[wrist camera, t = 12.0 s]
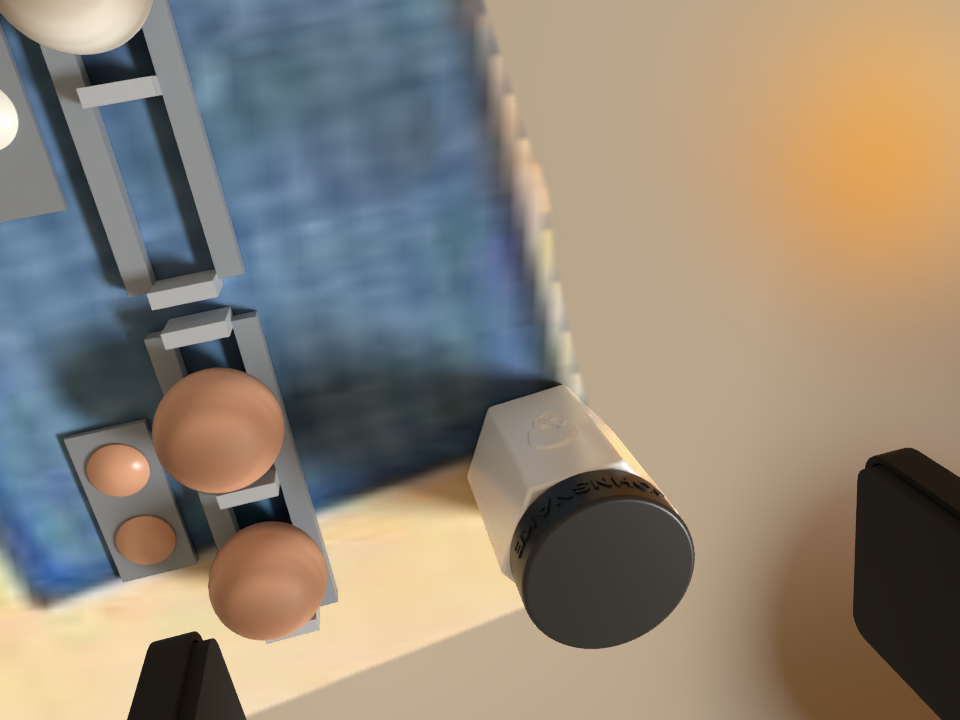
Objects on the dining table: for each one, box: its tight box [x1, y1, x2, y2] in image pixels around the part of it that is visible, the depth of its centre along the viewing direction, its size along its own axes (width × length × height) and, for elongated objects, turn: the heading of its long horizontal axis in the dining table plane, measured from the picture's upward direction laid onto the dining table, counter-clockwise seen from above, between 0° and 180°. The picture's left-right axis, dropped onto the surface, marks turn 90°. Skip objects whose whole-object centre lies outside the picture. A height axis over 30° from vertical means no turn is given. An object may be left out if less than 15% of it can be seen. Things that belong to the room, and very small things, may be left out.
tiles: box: [0, 23, 198, 582], centre depth 37 cm, size 29×4×1 cm, turn 9°
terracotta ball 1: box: [152, 368, 284, 493], centre depth 37 cm, size 6×6×6 cm
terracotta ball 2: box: [208, 521, 327, 640], centre depth 40 cm, size 6×6×6 cm
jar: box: [467, 385, 695, 649], centre depth 40 cm, size 9×8×12 cm
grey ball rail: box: [40, 0, 338, 644], centre depth 37 cm, size 39×5×2 cm, turn 9°
